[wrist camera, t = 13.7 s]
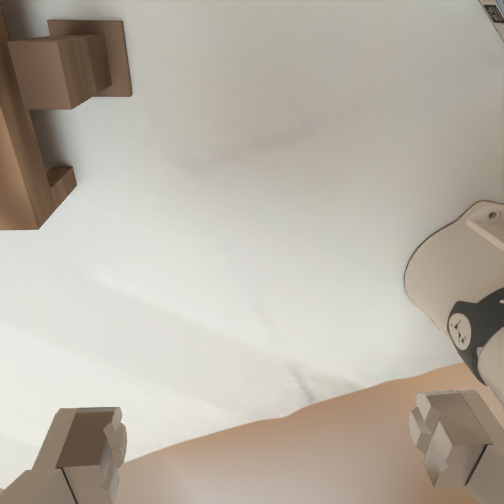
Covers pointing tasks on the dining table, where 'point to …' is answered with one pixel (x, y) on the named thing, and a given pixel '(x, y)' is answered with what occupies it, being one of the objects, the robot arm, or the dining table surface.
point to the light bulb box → (495, 13)
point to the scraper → (72, 64)
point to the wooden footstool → (24, 158)
